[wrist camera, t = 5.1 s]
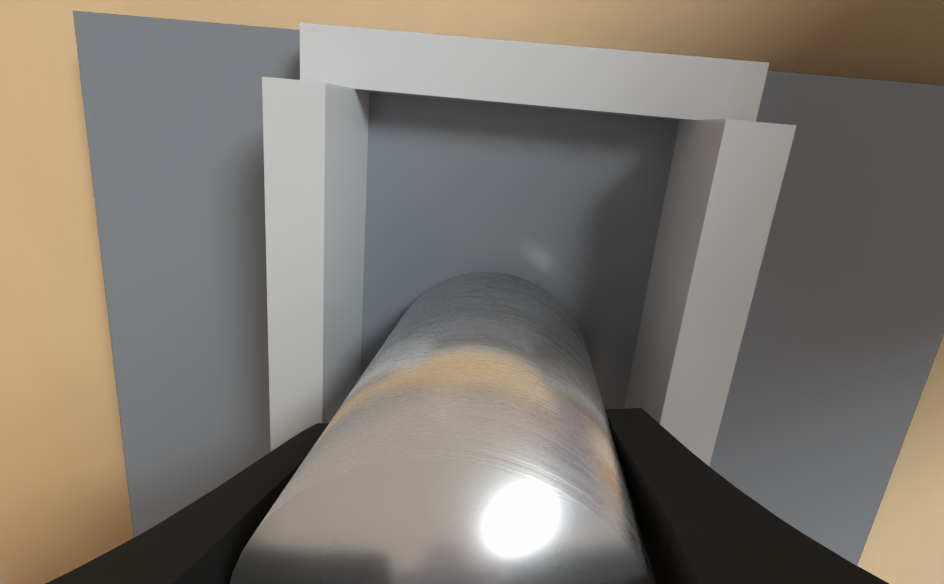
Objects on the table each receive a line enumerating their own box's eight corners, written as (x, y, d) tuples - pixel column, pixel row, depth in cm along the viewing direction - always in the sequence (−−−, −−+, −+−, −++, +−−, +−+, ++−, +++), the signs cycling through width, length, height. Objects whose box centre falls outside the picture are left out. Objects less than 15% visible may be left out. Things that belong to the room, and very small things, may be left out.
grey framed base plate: (979, 96, 11) (1199, 83, 7) (793, 635, 15) (876, 791, 12) (115, 21, 12) (-55, -22, 8) (165, 543, 16) (65, 661, 13)
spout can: (579, 259, 11) (723, 583, 3) (596, 449, 12) (736, 1051, 4) (373, 284, 12) (34, 610, 4) (407, 462, 13) (207, 1018, 5)
